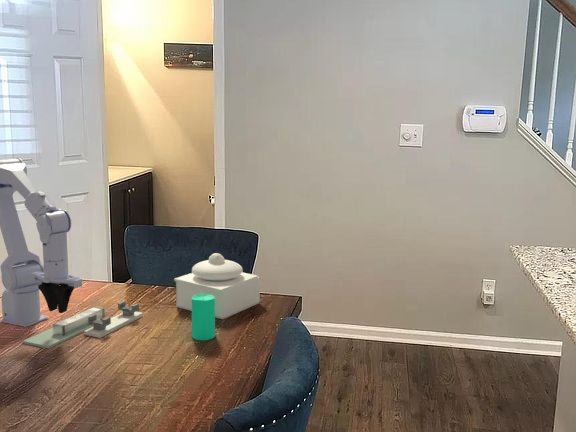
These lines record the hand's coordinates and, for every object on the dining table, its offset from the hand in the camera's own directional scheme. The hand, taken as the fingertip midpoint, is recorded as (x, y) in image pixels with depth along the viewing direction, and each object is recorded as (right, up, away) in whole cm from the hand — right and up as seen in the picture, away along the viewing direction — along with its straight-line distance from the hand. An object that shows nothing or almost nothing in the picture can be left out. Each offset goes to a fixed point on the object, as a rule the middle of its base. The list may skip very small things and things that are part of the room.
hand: (58, 310), depth 160 cm
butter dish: (+37, -3, +27) cm, 46 cm away
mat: (0, -6, +1) cm, 6 cm away
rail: (+3, -5, +7) cm, 9 cm away
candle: (+36, -7, +3) cm, 37 cm away
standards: (+12, -5, +9) cm, 16 cm away
